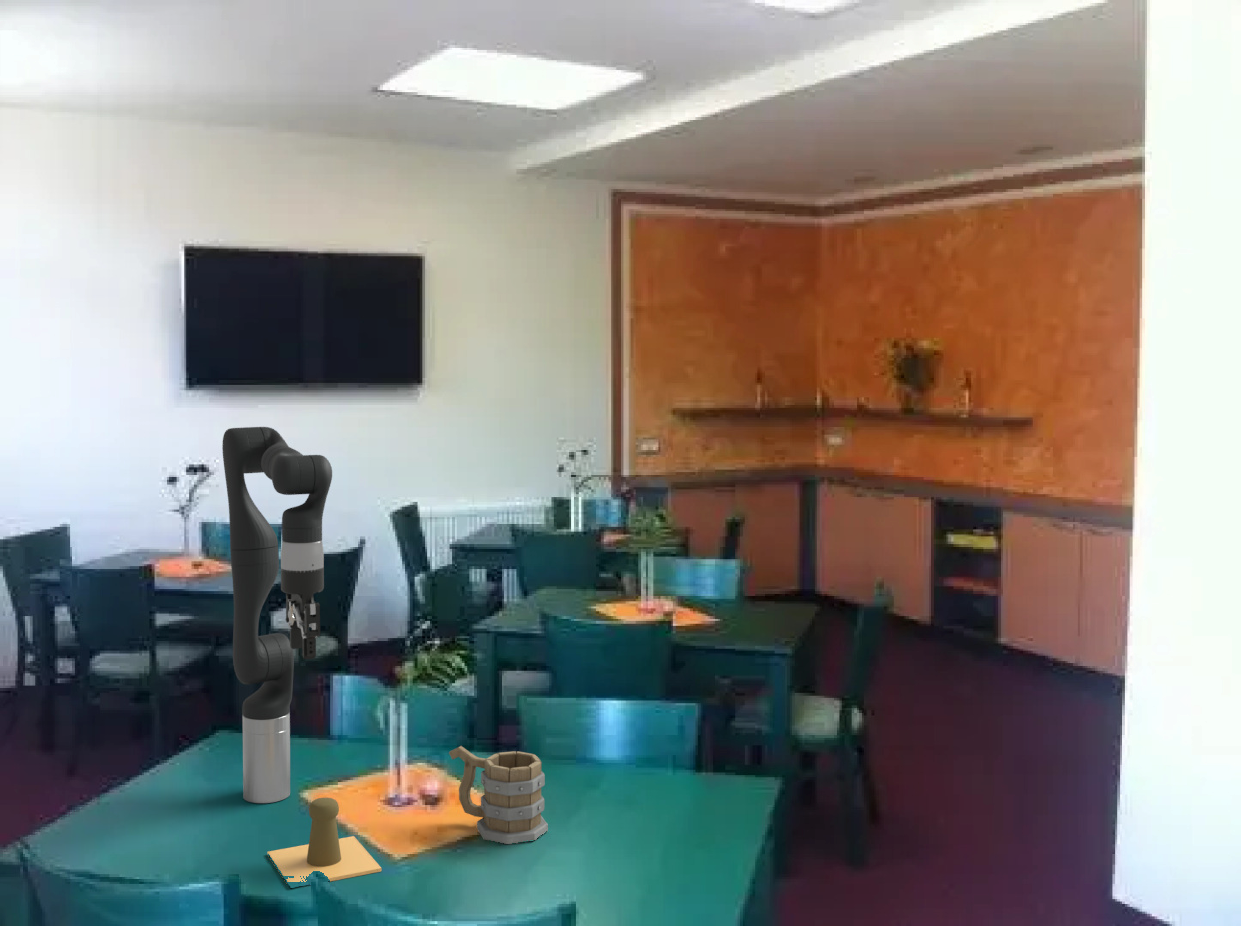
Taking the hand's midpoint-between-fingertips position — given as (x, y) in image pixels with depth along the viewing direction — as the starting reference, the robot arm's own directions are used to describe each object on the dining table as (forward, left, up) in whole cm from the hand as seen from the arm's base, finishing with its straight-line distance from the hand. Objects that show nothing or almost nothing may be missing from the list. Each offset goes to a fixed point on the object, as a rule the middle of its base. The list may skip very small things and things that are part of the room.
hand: (302, 653), depth 227 cm
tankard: (+8, +35, -36) cm, 51 cm away
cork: (+10, +1, -36) cm, 37 cm away
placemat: (+10, +1, -36) cm, 37 cm away
